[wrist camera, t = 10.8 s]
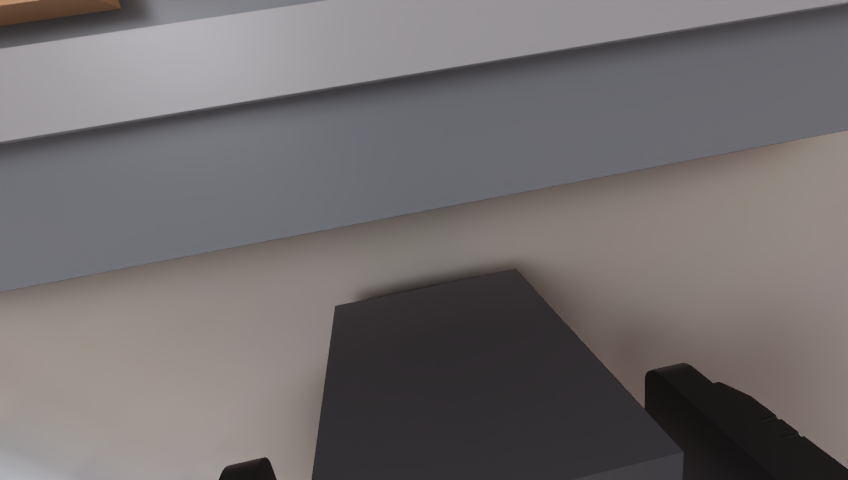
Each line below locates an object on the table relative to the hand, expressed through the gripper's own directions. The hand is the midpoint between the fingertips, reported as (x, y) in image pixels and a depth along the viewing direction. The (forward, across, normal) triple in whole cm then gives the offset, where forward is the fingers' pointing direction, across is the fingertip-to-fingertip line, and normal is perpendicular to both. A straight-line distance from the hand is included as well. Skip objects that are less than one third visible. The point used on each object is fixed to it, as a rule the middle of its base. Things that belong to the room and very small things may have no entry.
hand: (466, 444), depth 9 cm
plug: (+4, 0, 0) cm, 4 cm away
